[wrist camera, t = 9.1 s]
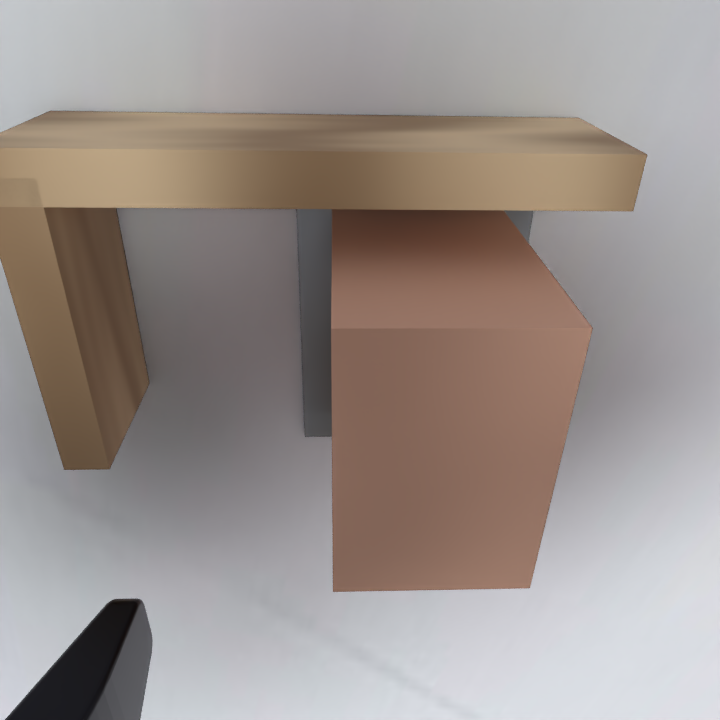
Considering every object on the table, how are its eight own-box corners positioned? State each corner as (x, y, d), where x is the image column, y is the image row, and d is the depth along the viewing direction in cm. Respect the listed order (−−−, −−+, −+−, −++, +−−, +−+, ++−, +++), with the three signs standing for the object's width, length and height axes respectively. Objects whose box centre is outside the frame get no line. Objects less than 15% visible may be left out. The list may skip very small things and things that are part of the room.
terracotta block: (472, 413, 18) (529, 587, 13) (333, 414, 18) (333, 591, 12) (501, 207, 15) (592, 328, 9) (332, 206, 14) (330, 328, 9)
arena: (578, 117, 14) (647, 154, 11) (518, 433, 18) (555, 520, 15) (49, 110, 13) (-34, 147, 10) (124, 435, 18) (81, 526, 15)
